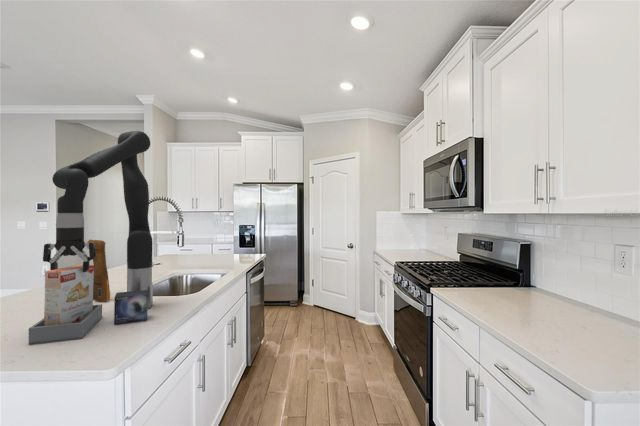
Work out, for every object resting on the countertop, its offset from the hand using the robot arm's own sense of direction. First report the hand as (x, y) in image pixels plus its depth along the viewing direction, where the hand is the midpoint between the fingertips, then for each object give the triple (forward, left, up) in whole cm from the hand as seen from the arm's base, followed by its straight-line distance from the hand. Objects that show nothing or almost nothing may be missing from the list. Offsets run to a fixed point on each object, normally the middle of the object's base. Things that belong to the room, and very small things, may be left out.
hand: (70, 272), depth 107 cm
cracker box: (0, 0, -19) cm, 19 cm away
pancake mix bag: (+2, -40, -20) cm, 45 cm away
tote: (0, 0, -20) cm, 20 cm away
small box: (-18, -3, -20) cm, 27 cm away
